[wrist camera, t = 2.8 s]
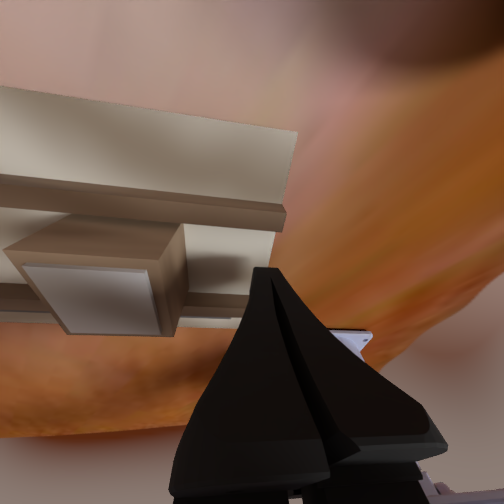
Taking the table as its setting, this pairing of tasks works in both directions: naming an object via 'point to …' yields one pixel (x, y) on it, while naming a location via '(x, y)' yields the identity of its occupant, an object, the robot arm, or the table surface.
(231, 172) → the birch board
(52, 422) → the table surface
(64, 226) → the block
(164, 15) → the table surface
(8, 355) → the table surface
